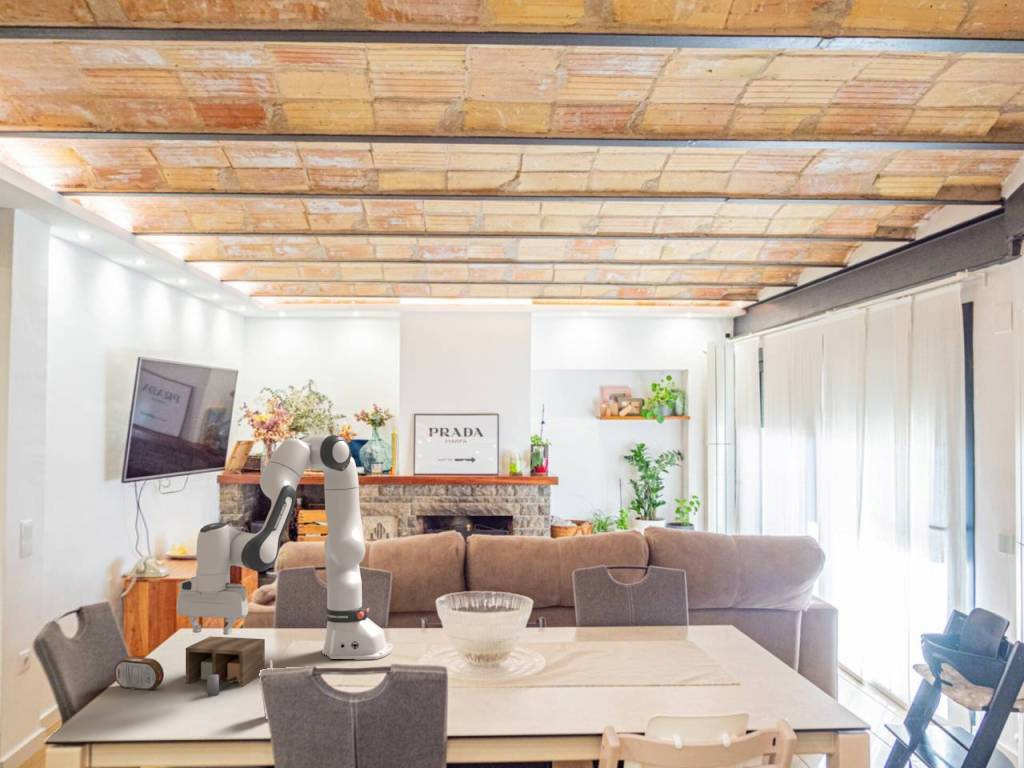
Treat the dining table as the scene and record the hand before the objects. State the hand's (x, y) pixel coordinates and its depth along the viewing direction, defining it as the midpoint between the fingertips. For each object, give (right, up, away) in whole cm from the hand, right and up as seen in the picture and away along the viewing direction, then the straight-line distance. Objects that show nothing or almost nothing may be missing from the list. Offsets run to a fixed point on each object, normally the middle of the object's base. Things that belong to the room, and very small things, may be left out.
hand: (212, 633), depth 215 cm
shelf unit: (-1, -17, +13) cm, 22 cm away
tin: (-23, -18, +5) cm, 30 cm away
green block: (-5, -18, +15) cm, 24 cm away
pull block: (+2, -17, +7) cm, 18 cm away
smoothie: (+22, -16, -17) cm, 32 cm away
